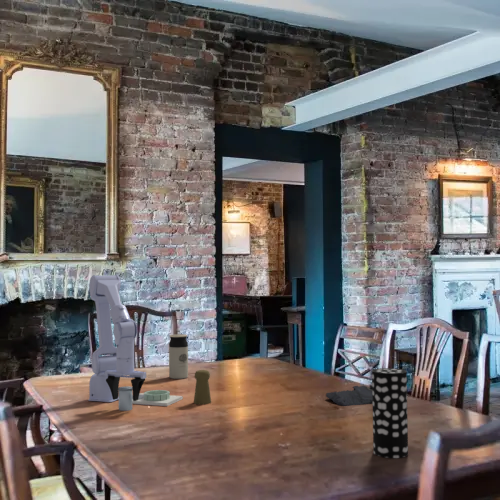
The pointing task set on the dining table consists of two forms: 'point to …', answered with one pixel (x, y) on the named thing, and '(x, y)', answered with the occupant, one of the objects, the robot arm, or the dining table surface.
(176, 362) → the travel mug
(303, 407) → the dining table surface
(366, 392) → the dark slate chunk
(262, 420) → the dining table surface
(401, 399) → the white-spotted black cylinder
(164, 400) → the white base plate
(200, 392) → the cork
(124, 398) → the tube
